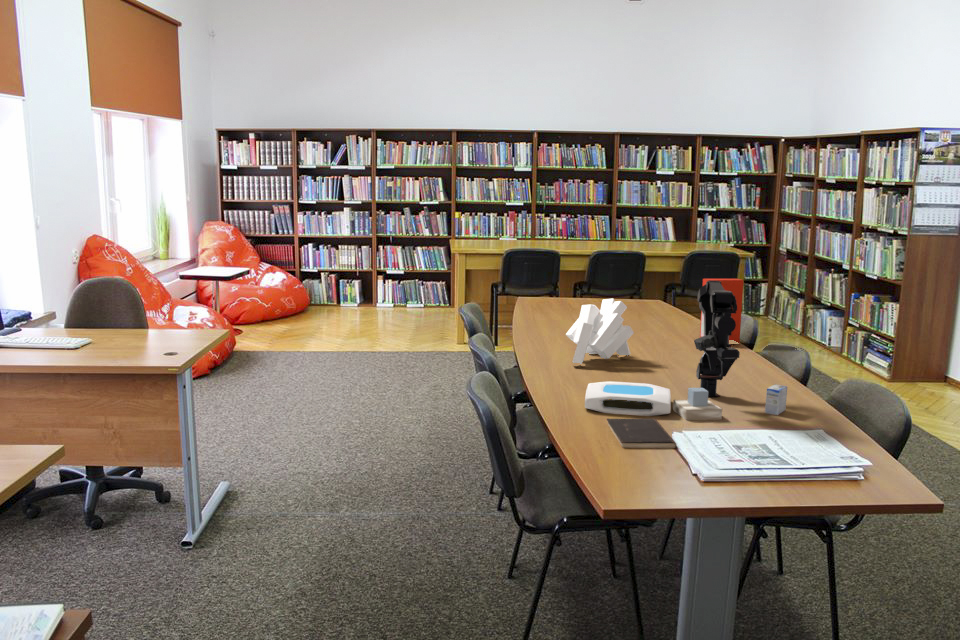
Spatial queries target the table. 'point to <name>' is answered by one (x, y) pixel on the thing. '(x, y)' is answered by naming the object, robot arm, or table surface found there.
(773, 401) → the medicine box
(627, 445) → the hardcover book
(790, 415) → the table surface
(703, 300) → the robot arm
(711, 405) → the cream block
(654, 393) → the document scanner
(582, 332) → the pile of blocks
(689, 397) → the grey cube
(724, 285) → the file binder
